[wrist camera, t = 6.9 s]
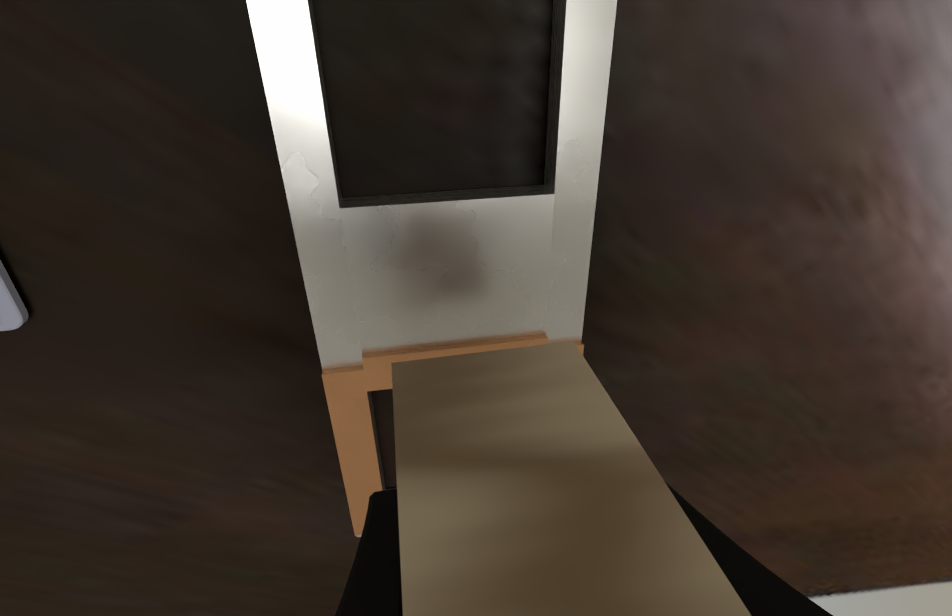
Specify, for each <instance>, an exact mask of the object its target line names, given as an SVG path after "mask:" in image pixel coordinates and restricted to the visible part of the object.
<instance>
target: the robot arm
mask: <svg viewBox="0 0 952 616" xmlns="http://www.w3.org/2000/svg"><path fill="white" fill-rule="evenodd" d="M28 316H29V315H28V312H27V309H26V307H25V306H24V304H23V302H22V300H21V298H20V296H19V294H18V292H17V290H16V288H15V287H14V285H13V283H12V281H11V279H10V277H9V275H8V273H7V271H6V269H5V268H4V266H3V264H2V262H1V260H0V331H7V330H14V329H17V328H19V327H20V326H21V325H22V324H24V323H25V322H26V321H27V320H28ZM664 482H665V481H664ZM665 483H666V482H665ZM666 485H667V486H668V488H669V489H670V491H671V493H672V494H673V496H674V497H675V499H676V500H677V502H678V503H679V505H680V506H681V508H682V509H683V511H684V513H685V514H686V516H687V517H688V519H689V520H690V522H691V523H692V525H693V526H694V528H695V530H696V531H697V533H698V534H699V536H700V537H701V539H702V540H703V542H704V543H705V545H706V546H707V548H708V550H709V551H710V553H711V554H712V556H713V557H714V559H715V560H716V562H717V563H718V565H719V567H720V568H721V570H722V571H723V573H724V574H725V576H726V577H727V579H728V580H729V582H730V583H731V585H732V587H733V588H734V590H735V591H736V593H737V594H738V596H739V597H740V599H741V600H742V602H743V604H744V605H745V607H746V608H747V610H748V611H749V613H750V614H751V616H833V615H831V614H830V613H828V612H827V611H825V610H824V609H822V608H821V607H820V606H818V605H817V604H815V603H814V602H813V601H811V600H810V599H808V598H807V597H805V596H804V595H803V594H801V593H800V592H798V591H797V590H795V589H794V588H793V587H791V586H790V585H789V584H787V583H786V582H785V581H783V580H782V579H780V578H779V577H778V576H777V575H775V574H774V573H773V572H771V571H770V570H769V569H767V568H766V567H765V566H764V565H762V564H761V563H760V562H758V561H757V560H756V559H755V558H753V557H752V556H751V555H750V554H748V553H747V552H746V551H745V550H743V549H742V548H741V547H740V546H738V545H737V544H736V543H735V542H734V541H732V540H731V539H730V538H729V537H728V536H726V535H725V534H724V533H723V532H722V531H720V530H719V529H718V528H717V527H716V526H715V525H713V524H712V523H711V522H710V521H709V520H708V519H707V518H705V517H704V516H703V515H702V514H701V513H700V512H698V511H697V510H696V509H695V508H694V507H693V506H692V505H690V504H689V503H688V502H687V501H686V500H685V499H684V498H683V497H682V496H680V495H679V494H678V493H677V492H676V491H675V490H674V489H673V488H672V487H671V486H669V485H668V484H667V483H666ZM335 616H403V608H402V586H401V564H400V542H399V520H398V498H397V488H396V489H390V490H383V491H377V492H374V493H373V494H372V495H371V496H370V497H369V503H368V509H367V514H366V519H365V523H364V527H363V531H362V535H361V539H360V542H359V546H358V549H357V553H356V556H355V560H354V563H353V566H352V569H351V572H350V575H349V578H348V581H347V584H346V587H345V590H344V593H343V596H342V599H341V602H340V604H339V607H338V610H337V612H336V615H335Z"/></svg>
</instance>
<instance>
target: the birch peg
mask: <svg viewBox="0 0 952 616" xmlns="http://www.w3.org/2000/svg"><path fill="white" fill-rule="evenodd" d="M391 365H392V387H393V409H394V431H395V453H396V476H397V498H398V520H399V542H400V564H401V586H402V608H403V616H751V614H750V613H749V611H748V610H747V608H746V607H745V605H744V604H743V602H742V600H741V599H740V597H739V596H738V594H737V593H736V591H735V590H734V588H733V587H732V585H731V583H730V582H729V580H728V579H727V577H726V576H725V574H724V573H723V571H722V570H721V568H720V567H719V565H718V563H717V562H716V560H715V559H714V557H713V556H712V554H711V553H710V551H709V550H708V548H707V546H706V545H705V543H704V542H703V540H702V539H701V537H700V536H699V534H698V533H697V531H696V530H695V528H694V526H693V525H692V523H691V522H690V520H689V519H688V517H687V516H686V514H685V513H684V511H683V509H682V508H681V506H680V505H679V503H678V502H677V500H676V499H675V497H674V496H673V494H672V493H671V491H670V489H669V488H668V486H667V485H666V483H665V482H664V480H663V479H662V477H661V476H660V474H659V473H658V471H657V469H656V468H655V466H654V465H653V463H652V462H651V460H650V459H649V457H648V456H647V454H646V452H645V451H644V449H643V448H642V446H641V445H640V443H639V442H638V440H637V439H636V437H635V436H634V434H633V432H632V431H631V429H630V428H629V426H628V425H627V423H626V422H625V420H624V419H623V417H622V415H621V414H620V412H619V411H618V409H617V408H616V406H615V405H614V403H613V402H612V400H611V399H610V397H609V395H608V394H607V392H606V391H605V389H604V388H603V386H602V385H601V383H600V382H599V380H598V378H597V377H596V375H595V374H594V372H593V371H592V369H591V368H590V366H589V365H588V363H587V362H586V360H585V358H584V357H583V355H582V354H581V352H580V351H579V349H578V348H577V346H576V345H575V343H574V341H569V342H561V343H552V344H544V345H536V346H527V347H519V348H511V349H502V350H494V351H486V352H477V353H469V354H461V355H452V356H444V357H436V358H427V359H419V360H411V361H402V362H394V363H391Z"/></svg>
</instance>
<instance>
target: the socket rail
mask: <svg viewBox="0 0 952 616" xmlns="http://www.w3.org/2000/svg"><path fill="white" fill-rule="evenodd" d="M246 2H247V7H248V12H249V17H250V22H251V26H252V31H253V36H254V41H255V46H256V51H257V55H258V60H259V65H260V70H261V75H262V80H263V85H264V89H265V94H266V99H267V104H268V109H269V114H270V119H271V123H272V128H273V133H274V138H275V143H276V148H277V153H278V157H279V162H280V167H281V172H282V177H283V182H284V186H285V191H286V196H287V201H288V206H289V211H290V216H291V220H292V225H293V230H294V235H295V240H296V245H297V250H298V254H299V259H300V264H301V269H302V274H303V279H304V284H305V288H306V293H307V298H308V303H309V308H310V313H311V317H312V322H313V327H314V332H315V337H316V342H317V347H318V351H319V356H320V361H321V366H322V379H323V384H324V389H325V394H326V399H327V403H328V408H329V413H330V418H331V423H332V427H333V432H334V437H335V442H336V447H337V451H338V456H339V461H340V466H341V471H342V475H343V480H344V485H345V490H346V495H347V499H348V504H349V509H350V514H351V519H352V524H353V528H354V533H355V536H357V537H361V535H362V531H363V527H364V523H365V519H366V514H367V509H368V503H369V497H370V496H371V495H372V494H373V493H374V492H377V491H383V490H390V489H396V488H390V489H386V487H385V480H384V474H383V467H382V461H381V454H380V447H379V441H378V434H377V427H376V421H375V414H374V408H373V401H372V394H371V391H376V390H384V389H392V388H393V387H392V365H391V363H394V362H402V361H411V360H419V359H427V358H436V357H444V356H452V355H461V354H469V353H477V352H486V351H494V350H502V349H511V348H519V347H527V346H536V345H544V344H552V343H561V342H569V341H574V343H575V345H576V346H577V348H578V349H579V351H580V352H581V354H582V355H583V351H584V344H583V342H582V341H581V339H582V330H583V320H584V311H585V301H586V292H587V282H588V273H589V263H590V254H591V244H592V235H593V225H594V216H595V206H596V197H597V187H598V178H599V168H600V158H601V149H602V139H603V130H604V120H605V111H606V101H607V92H608V82H609V73H610V63H611V54H612V44H613V35H614V25H615V16H616V6H617V0H553V17H552V37H551V56H550V75H549V95H548V114H547V134H546V153H545V172H544V185H532V186H517V187H501V188H486V189H470V190H455V191H439V192H423V193H408V194H392V195H377V196H361V197H345V198H342V195H341V189H340V182H339V175H338V169H337V162H336V155H335V149H334V142H333V136H332V129H331V122H330V116H329V109H328V102H327V96H326V89H325V83H324V76H323V69H322V63H321V56H320V49H319V43H318V36H317V29H316V23H315V16H314V10H313V3H312V0H246Z"/></svg>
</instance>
